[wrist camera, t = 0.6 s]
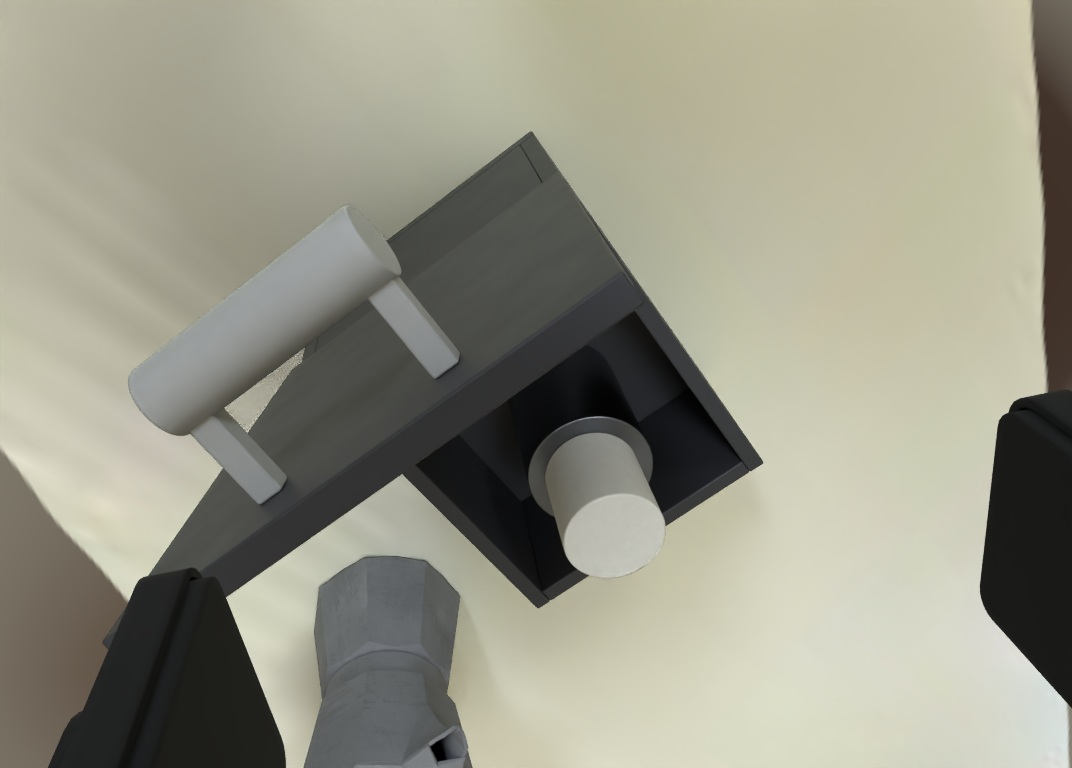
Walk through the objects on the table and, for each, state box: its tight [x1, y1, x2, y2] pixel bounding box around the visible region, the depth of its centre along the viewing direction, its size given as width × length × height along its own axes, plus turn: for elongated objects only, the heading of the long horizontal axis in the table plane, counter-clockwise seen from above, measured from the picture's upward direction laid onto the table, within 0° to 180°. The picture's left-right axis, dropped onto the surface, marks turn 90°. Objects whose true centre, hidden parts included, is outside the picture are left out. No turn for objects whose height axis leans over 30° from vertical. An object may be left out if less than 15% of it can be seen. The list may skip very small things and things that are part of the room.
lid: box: [103, 172, 644, 649], centre depth 26 cm, size 18×14×5 cm
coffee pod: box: [545, 433, 666, 578], centre depth 39 cm, size 4×4×5 cm
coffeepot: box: [304, 556, 472, 768], centre depth 47 cm, size 15×9×18 cm, turn 146°
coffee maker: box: [302, 132, 763, 608], centre depth 43 cm, size 18×14×9 cm
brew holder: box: [508, 345, 653, 517], centre depth 45 cm, size 6×6×9 cm
